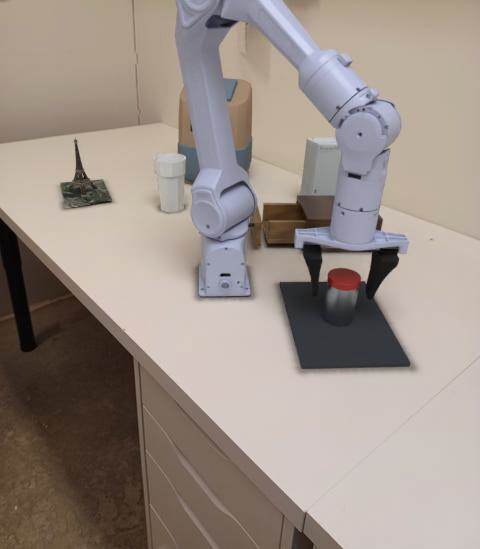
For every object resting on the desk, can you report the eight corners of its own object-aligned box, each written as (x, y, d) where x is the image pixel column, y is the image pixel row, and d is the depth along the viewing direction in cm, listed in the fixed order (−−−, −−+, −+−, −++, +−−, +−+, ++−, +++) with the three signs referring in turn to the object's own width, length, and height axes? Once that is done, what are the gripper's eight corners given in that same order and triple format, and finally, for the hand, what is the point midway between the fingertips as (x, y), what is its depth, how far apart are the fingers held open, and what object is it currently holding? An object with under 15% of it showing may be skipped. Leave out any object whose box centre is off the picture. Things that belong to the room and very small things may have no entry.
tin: (355, 327, 66) (363, 285, 63) (323, 325, 66) (329, 283, 63) (350, 309, 70) (358, 268, 67) (320, 307, 70) (326, 266, 67)
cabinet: (304, 252, 87) (308, 219, 83) (293, 225, 97) (296, 195, 93) (376, 252, 88) (383, 219, 84) (358, 225, 98) (364, 195, 94)
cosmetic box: (309, 213, 102) (317, 144, 95) (297, 203, 107) (304, 137, 100) (343, 210, 105) (354, 142, 97) (331, 200, 110) (340, 135, 102)
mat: (409, 366, 61) (410, 362, 60) (301, 368, 60) (302, 365, 59) (363, 284, 78) (364, 281, 77) (279, 284, 77) (279, 281, 76)
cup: (152, 212, 100) (149, 161, 95) (161, 200, 106) (158, 152, 100) (183, 215, 100) (181, 163, 94) (190, 203, 105) (189, 154, 100)
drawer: (231, 246, 86) (232, 222, 83) (228, 222, 95) (229, 200, 92) (321, 246, 87) (325, 222, 85) (310, 222, 96) (313, 200, 94)
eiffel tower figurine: (113, 203, 104) (107, 141, 97) (65, 208, 100) (54, 145, 94) (102, 180, 116) (96, 125, 109) (59, 185, 112) (49, 127, 105)
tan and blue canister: (174, 185, 115) (170, 83, 103) (192, 164, 129) (190, 72, 117) (242, 191, 112) (246, 88, 101) (253, 170, 127) (257, 77, 115)
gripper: (407, 194, 63) (387, 282, 70) (297, 189, 63) (288, 276, 70) (422, 215, 57) (398, 309, 63) (300, 209, 57) (290, 303, 64)
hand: (341, 294), depth 66 cm, fingers open, 7 cm apart
